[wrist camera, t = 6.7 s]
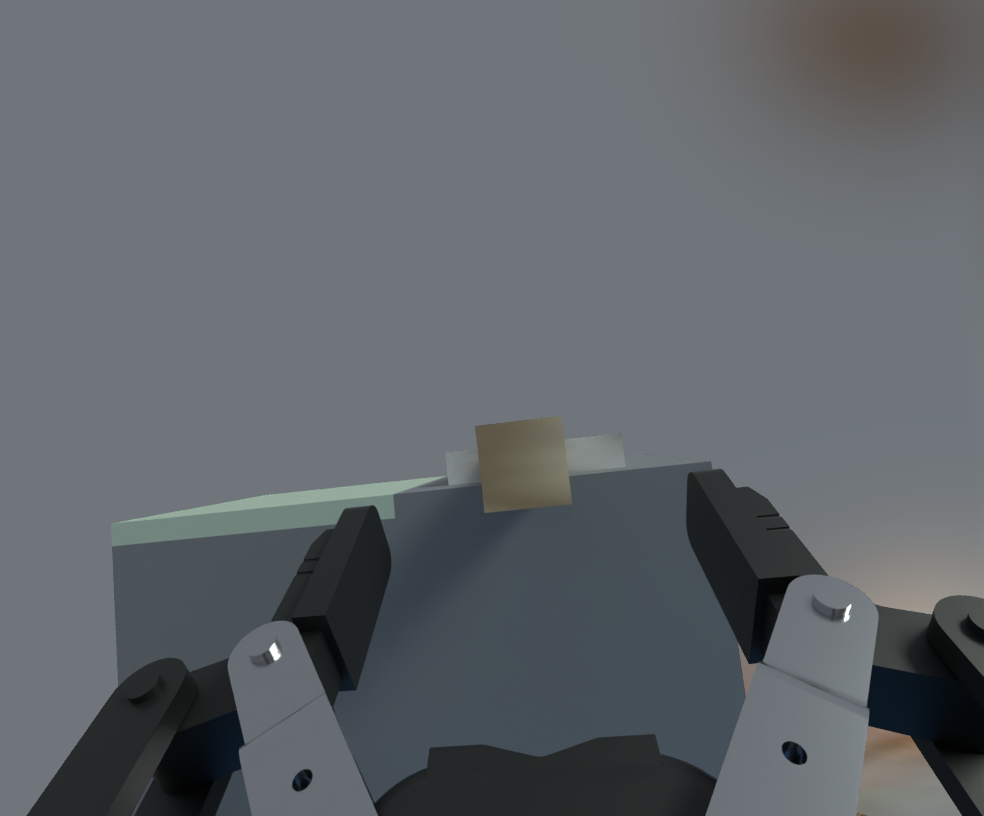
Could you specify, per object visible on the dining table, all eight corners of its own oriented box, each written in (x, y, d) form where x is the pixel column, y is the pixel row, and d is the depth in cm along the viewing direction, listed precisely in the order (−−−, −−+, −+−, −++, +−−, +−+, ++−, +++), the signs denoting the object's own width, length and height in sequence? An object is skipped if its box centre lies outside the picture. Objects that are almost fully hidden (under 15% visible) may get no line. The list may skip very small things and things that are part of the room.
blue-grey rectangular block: (721, 1000, 29) (647, 454, 31) (849, 1399, 17) (711, 461, 19) (299, 1001, 31) (263, 495, 34) (147, 1348, 19) (111, 523, 22)
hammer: (601, 460, 31) (597, 428, 31) (709, 490, 11) (696, 400, 11) (475, 473, 31) (472, 442, 31) (358, 525, 11) (350, 440, 12)
